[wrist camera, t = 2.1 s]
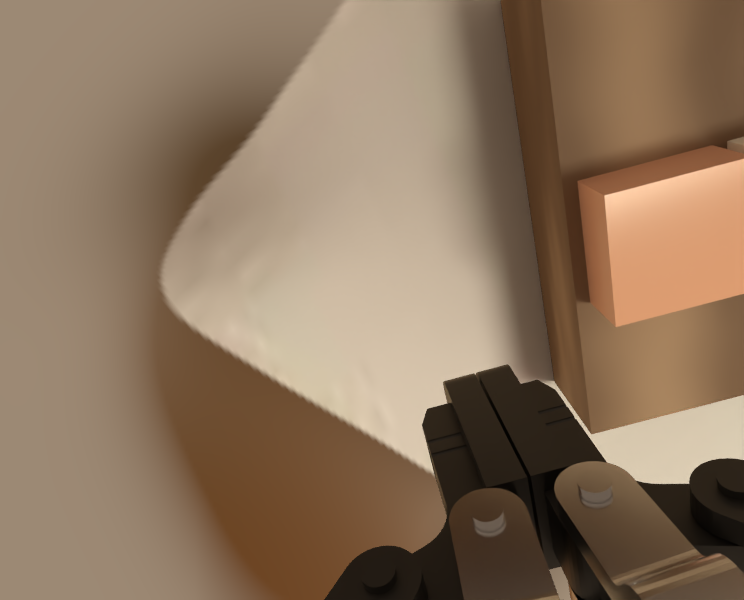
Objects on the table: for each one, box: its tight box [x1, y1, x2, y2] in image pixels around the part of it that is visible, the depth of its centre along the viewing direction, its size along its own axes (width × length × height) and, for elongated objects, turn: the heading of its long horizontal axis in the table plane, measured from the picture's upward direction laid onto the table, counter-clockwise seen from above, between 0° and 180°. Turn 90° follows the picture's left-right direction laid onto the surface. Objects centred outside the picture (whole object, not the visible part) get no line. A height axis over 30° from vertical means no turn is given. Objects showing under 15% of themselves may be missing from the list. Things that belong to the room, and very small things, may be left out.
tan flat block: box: [501, 0, 744, 434], centre depth 22 cm, size 12×16×4 cm
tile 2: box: [577, 145, 744, 327], centre depth 20 cm, size 4×4×2 cm
